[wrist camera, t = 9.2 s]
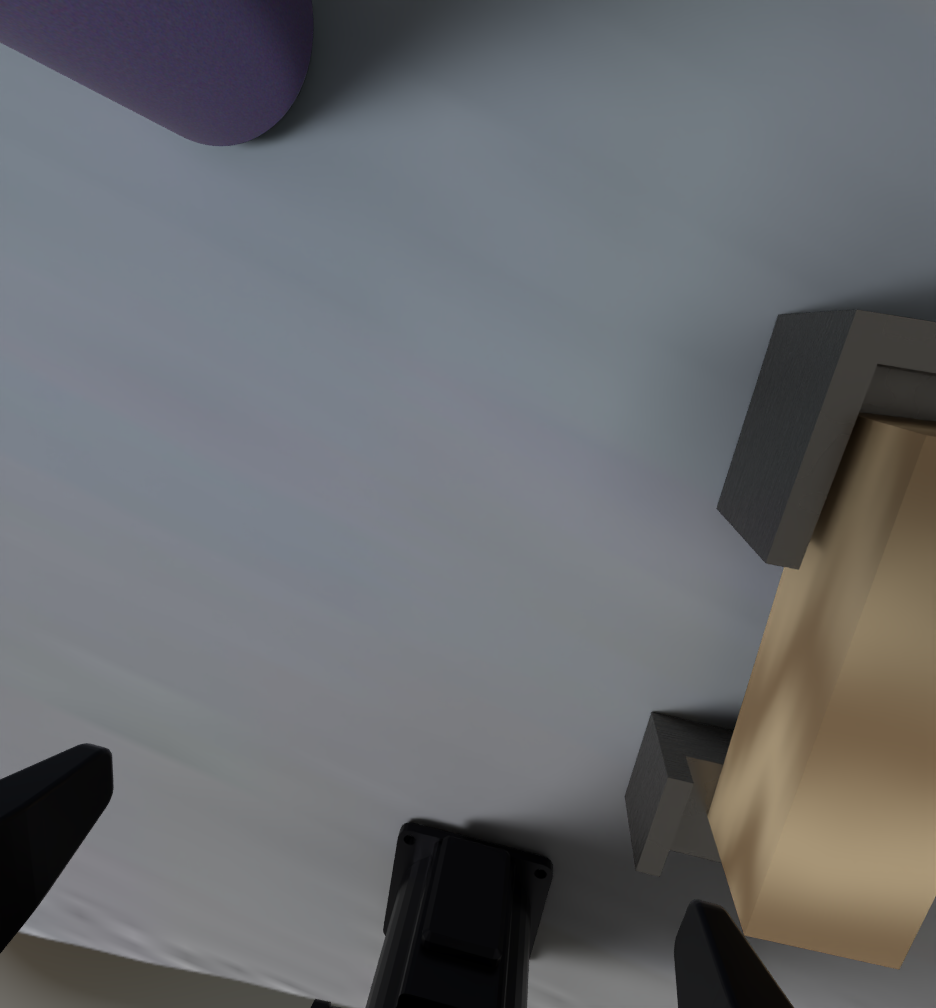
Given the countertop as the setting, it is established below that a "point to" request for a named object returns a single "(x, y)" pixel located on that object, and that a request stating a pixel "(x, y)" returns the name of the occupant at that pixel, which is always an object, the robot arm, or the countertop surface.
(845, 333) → the bracket
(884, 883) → the rail
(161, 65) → the beverage can
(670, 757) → the dark grey arch block
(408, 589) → the countertop surface
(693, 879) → the countertop surface
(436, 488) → the countertop surface
